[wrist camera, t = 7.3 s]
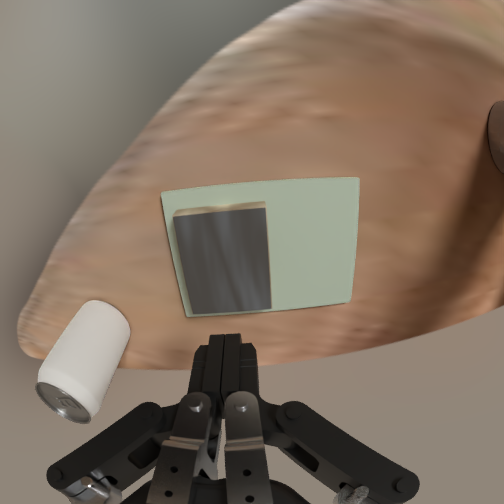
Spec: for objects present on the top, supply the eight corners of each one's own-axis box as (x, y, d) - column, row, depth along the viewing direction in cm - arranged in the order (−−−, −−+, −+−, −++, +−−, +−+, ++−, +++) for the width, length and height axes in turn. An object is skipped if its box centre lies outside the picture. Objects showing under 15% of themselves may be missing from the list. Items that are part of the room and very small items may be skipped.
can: (72, 302, 25) (19, 377, 14) (114, 293, 25) (61, 380, 14) (99, 345, 28) (62, 422, 17) (141, 340, 28) (109, 429, 17)
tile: (266, 206, 20) (171, 216, 20) (272, 309, 23) (192, 315, 23) (264, 200, 21) (176, 209, 21) (270, 298, 25) (195, 303, 25)
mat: (356, 177, 21) (359, 178, 21) (348, 298, 26) (350, 301, 25) (162, 191, 21) (160, 193, 21) (187, 313, 26) (186, 316, 25)
